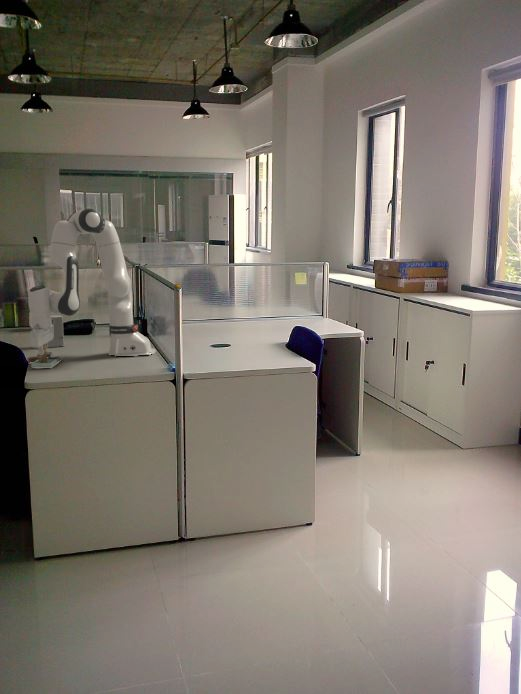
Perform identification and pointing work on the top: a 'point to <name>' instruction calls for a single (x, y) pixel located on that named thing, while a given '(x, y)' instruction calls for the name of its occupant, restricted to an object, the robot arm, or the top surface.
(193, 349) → the top surface
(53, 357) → the socket
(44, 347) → the dowel
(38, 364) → the tray
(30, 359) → the block
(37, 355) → the steel block
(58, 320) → the skincare box
